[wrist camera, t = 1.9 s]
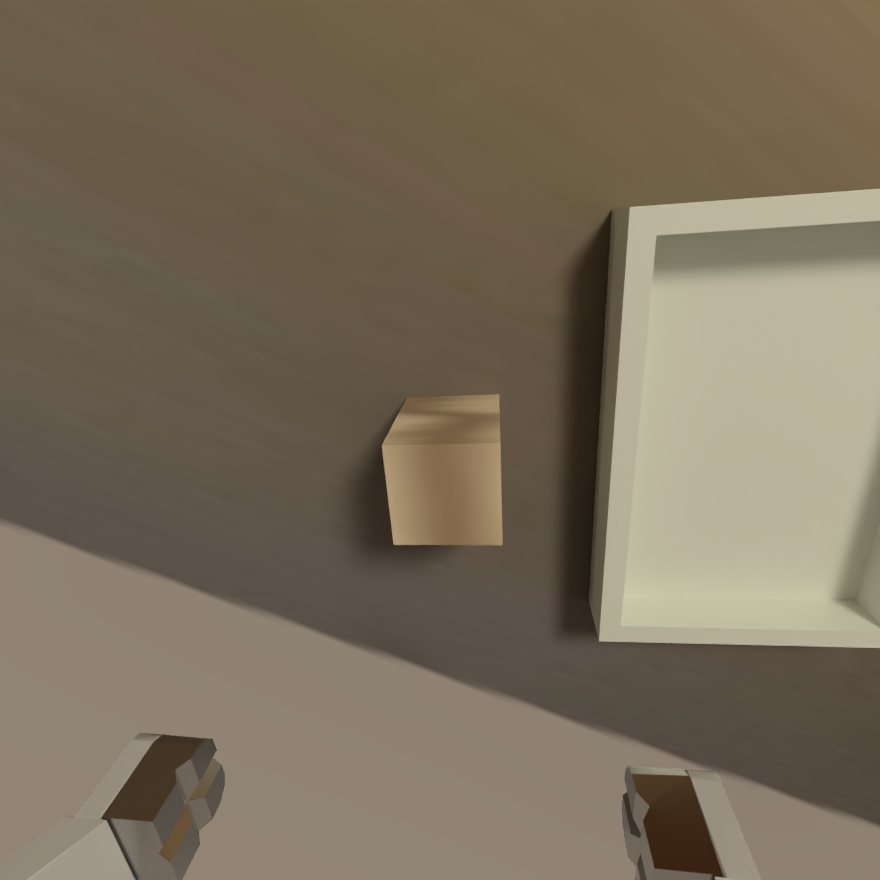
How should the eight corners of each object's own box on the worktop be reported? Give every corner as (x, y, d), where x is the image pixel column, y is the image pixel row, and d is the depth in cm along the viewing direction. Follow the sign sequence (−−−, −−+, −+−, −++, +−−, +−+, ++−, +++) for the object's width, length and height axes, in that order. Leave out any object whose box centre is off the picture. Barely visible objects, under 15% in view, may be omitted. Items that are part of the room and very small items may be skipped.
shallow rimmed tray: (588, 601, 28) (598, 641, 25) (611, 210, 21) (629, 207, 18) (860, 605, 27) (903, 648, 24) (994, 182, 19) (1078, 174, 16)
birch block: (414, 479, 26) (393, 544, 21) (406, 397, 25) (381, 445, 19) (500, 478, 26) (502, 544, 20) (499, 394, 24) (500, 442, 19)
